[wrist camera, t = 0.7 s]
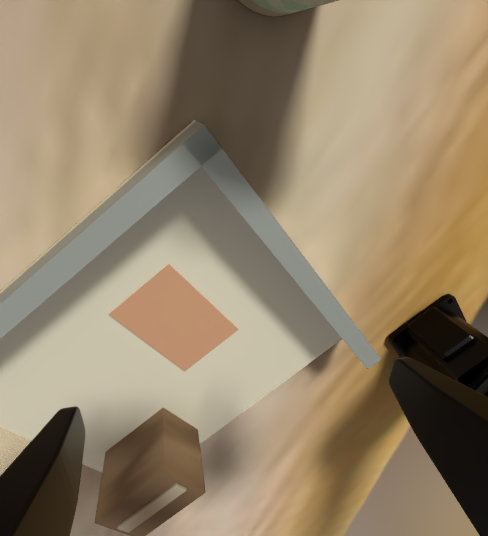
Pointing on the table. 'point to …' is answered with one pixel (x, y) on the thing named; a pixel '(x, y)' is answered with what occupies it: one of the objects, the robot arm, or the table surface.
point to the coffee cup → (282, 6)
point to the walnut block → (150, 475)
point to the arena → (164, 306)
